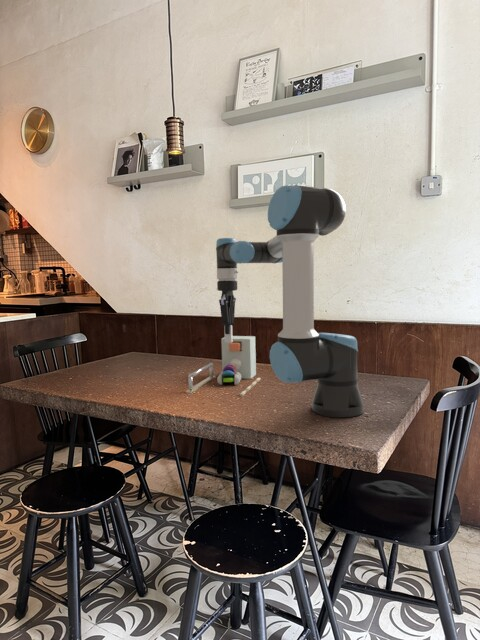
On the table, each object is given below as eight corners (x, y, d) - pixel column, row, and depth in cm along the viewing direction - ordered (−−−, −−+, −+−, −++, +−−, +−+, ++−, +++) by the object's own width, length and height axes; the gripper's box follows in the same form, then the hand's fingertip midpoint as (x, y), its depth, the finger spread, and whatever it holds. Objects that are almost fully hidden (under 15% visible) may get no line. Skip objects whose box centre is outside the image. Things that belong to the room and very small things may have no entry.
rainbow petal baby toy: (242, 380, 174) (241, 362, 173) (238, 386, 164) (238, 367, 163) (220, 380, 175) (220, 362, 174) (216, 386, 165) (215, 367, 164)
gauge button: (238, 351, 173) (238, 343, 173) (229, 350, 174) (228, 343, 174) (241, 349, 176) (240, 342, 176) (231, 349, 177) (231, 342, 177)
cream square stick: (242, 396, 151) (242, 394, 151) (239, 395, 151) (239, 394, 151) (260, 379, 174) (260, 377, 174) (258, 379, 175) (258, 377, 175)
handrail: (191, 393, 156) (190, 375, 156) (186, 392, 157) (185, 375, 156) (215, 377, 180) (215, 362, 179) (210, 377, 181) (210, 361, 180)
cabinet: (250, 379, 175) (249, 339, 174) (222, 377, 179) (221, 338, 177) (256, 374, 183) (255, 336, 182) (228, 373, 187) (227, 335, 185)
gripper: (231, 280, 158) (232, 345, 161) (241, 279, 171) (242, 339, 173) (211, 280, 160) (213, 344, 163) (223, 279, 173) (224, 339, 175)
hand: (228, 342), depth 168 cm, fingers closed
